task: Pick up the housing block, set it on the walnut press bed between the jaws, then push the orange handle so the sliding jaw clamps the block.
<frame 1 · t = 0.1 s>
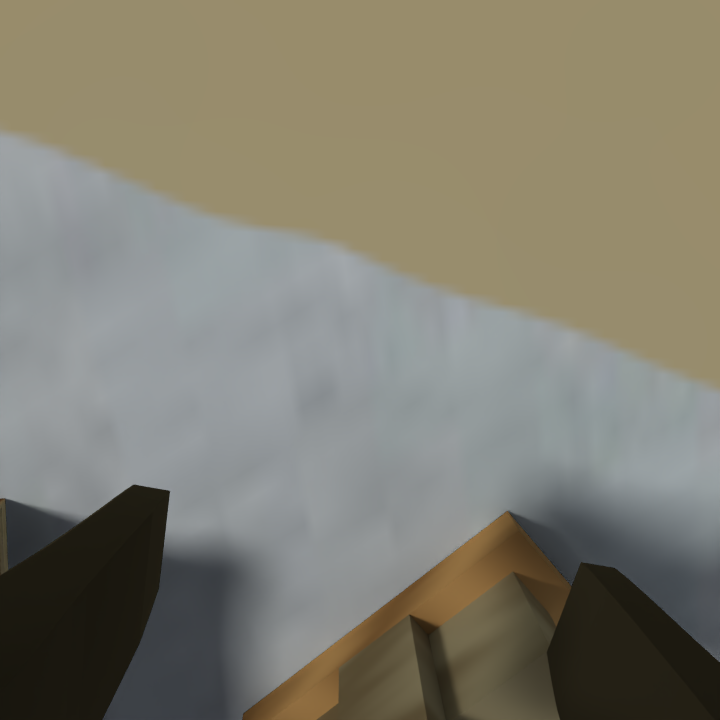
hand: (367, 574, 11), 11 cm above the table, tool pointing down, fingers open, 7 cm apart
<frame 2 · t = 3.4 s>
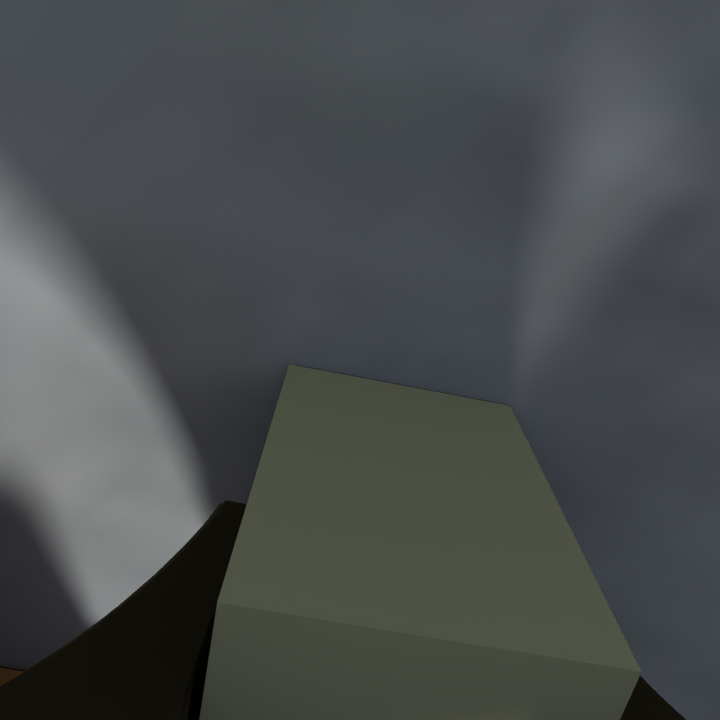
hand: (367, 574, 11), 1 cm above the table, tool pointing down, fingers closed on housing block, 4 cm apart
housing block: (366, 526, 13), on the table, touching gripper
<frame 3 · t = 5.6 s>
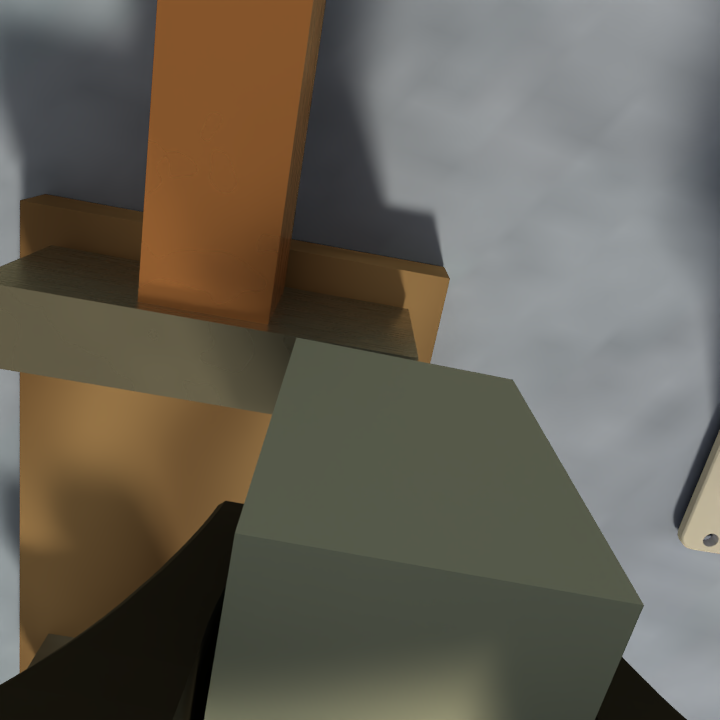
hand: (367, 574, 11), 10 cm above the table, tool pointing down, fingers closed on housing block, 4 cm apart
clamp jaw: (230, 174, 16), point 4 cm above the table, slide at 0.0 cm
housing block: (371, 500, 13), point 9 cm above the table, touching gripper
press: (216, 488, 23), on the table
when the fingers open (4 cm above the table, at t = 7.8 s): housing block stays where it is, resting on press.
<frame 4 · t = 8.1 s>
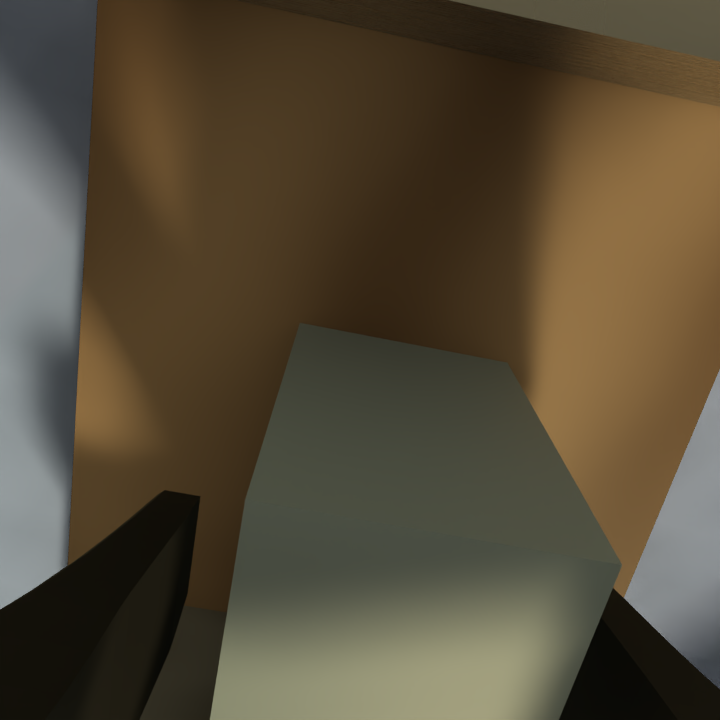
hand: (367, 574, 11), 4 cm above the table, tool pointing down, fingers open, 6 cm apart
housing block: (372, 479, 13), point 1 cm above the table, touching press
press: (390, 361, 14), on the table
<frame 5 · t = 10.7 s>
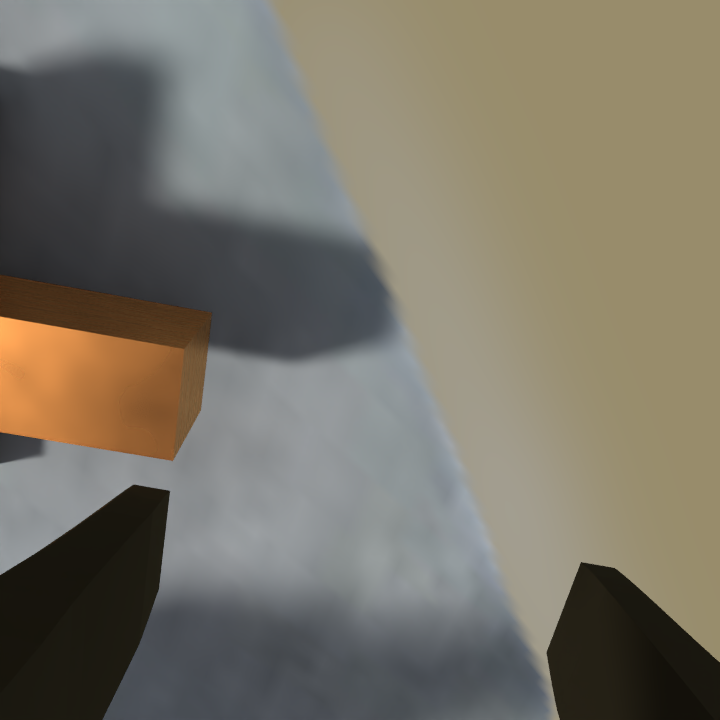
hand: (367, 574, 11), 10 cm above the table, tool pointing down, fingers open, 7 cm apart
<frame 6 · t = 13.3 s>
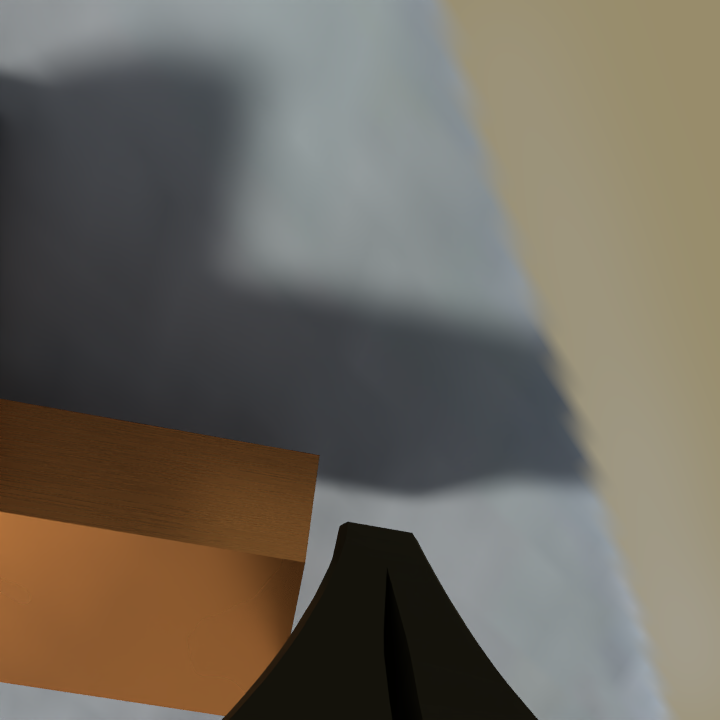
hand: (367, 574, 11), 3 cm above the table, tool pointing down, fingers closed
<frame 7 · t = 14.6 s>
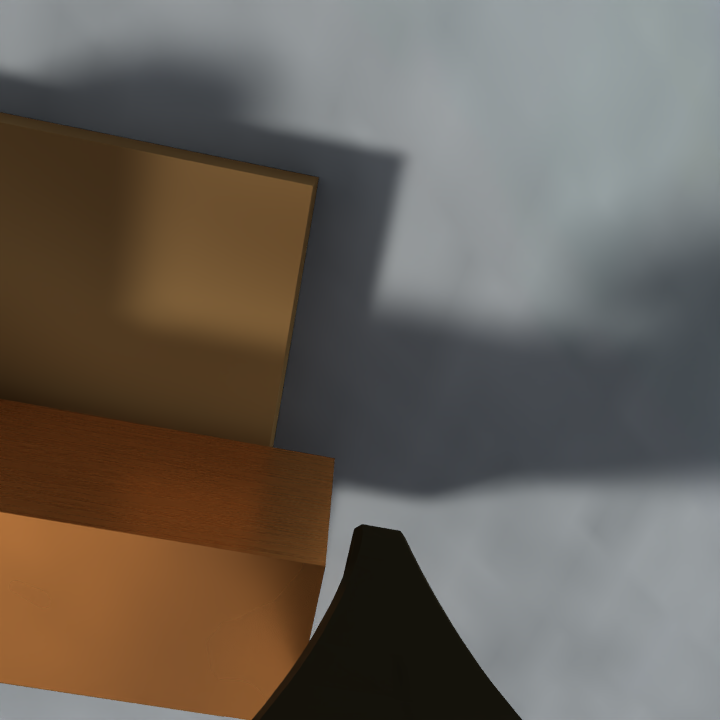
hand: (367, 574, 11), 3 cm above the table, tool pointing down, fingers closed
clamp jaw: (7, 530, 11), point 4 cm above the table, slide at 5.8 cm, touching gripper, housing block
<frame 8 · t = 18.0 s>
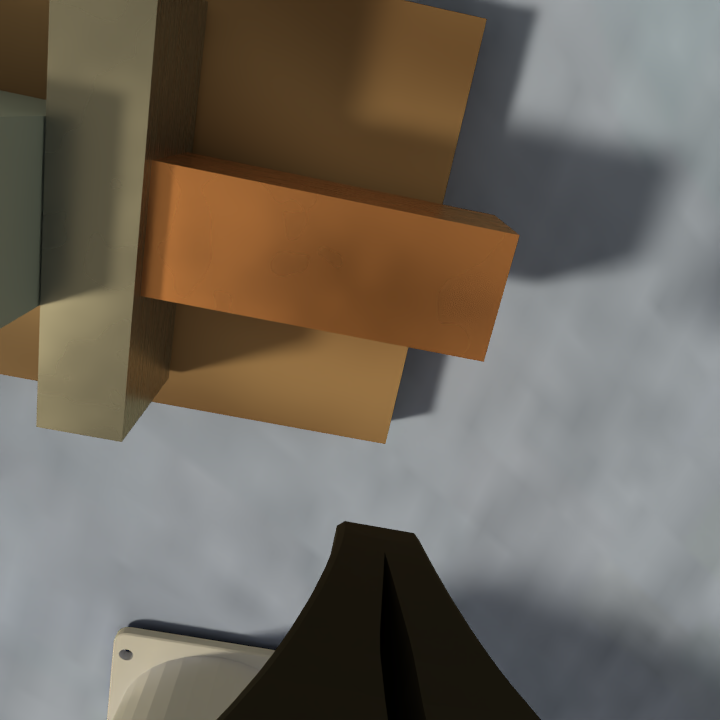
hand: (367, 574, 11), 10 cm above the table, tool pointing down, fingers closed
clamp jaw: (289, 244, 16), point 4 cm above the table, slide at 5.7 cm
housing block: (0, 169, 18), point 1 cm above the table, touching press
press: (124, 184, 19), on the table
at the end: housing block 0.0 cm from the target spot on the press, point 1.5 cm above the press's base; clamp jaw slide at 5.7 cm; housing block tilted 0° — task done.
